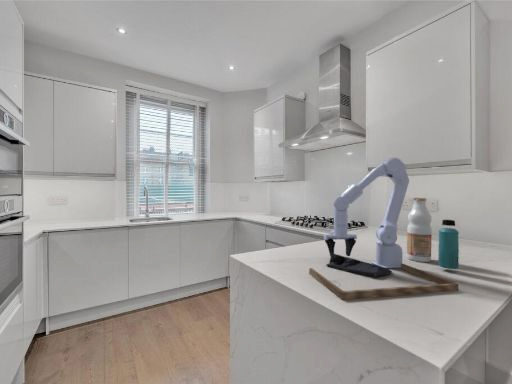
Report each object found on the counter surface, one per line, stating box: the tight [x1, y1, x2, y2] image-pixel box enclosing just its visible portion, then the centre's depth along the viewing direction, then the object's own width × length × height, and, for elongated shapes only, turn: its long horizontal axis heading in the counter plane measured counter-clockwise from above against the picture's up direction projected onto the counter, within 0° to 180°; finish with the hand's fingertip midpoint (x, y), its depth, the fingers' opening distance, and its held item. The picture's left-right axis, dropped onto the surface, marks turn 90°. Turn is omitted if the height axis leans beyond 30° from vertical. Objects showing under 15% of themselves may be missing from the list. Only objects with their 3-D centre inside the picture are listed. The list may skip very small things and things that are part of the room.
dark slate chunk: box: [326, 253, 393, 278], centre depth 101 cm, size 15×22×5 cm
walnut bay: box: [308, 263, 459, 301], centre depth 87 cm, size 40×22×2 cm, turn 102°
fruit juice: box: [406, 197, 432, 263], centre depth 116 cm, size 9×9×28 cm
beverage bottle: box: [437, 219, 460, 270], centre depth 100 cm, size 6×7×20 cm
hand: (339, 256), depth 111 cm, fingers open, 7 cm apart
